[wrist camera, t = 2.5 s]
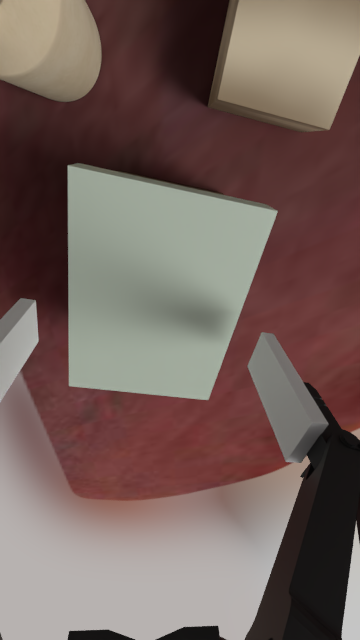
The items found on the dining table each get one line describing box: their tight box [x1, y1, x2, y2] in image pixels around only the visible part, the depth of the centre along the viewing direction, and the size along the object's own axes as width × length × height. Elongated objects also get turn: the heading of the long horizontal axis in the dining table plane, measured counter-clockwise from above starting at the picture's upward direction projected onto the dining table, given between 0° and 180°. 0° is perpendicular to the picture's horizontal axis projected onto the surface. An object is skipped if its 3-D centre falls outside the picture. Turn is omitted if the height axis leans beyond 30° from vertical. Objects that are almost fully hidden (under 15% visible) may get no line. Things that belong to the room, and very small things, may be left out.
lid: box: [68, 163, 278, 400], centre depth 19 cm, size 15×11×2 cm
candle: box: [0, 0, 101, 102], centre depth 13 cm, size 6×6×10 cm
